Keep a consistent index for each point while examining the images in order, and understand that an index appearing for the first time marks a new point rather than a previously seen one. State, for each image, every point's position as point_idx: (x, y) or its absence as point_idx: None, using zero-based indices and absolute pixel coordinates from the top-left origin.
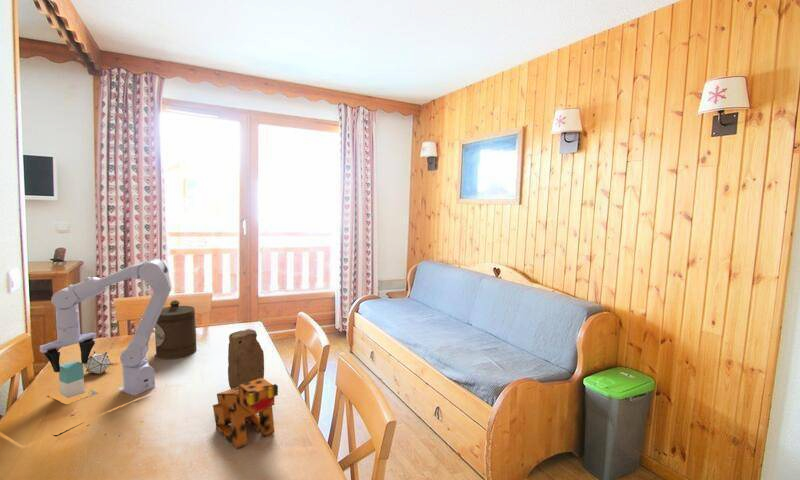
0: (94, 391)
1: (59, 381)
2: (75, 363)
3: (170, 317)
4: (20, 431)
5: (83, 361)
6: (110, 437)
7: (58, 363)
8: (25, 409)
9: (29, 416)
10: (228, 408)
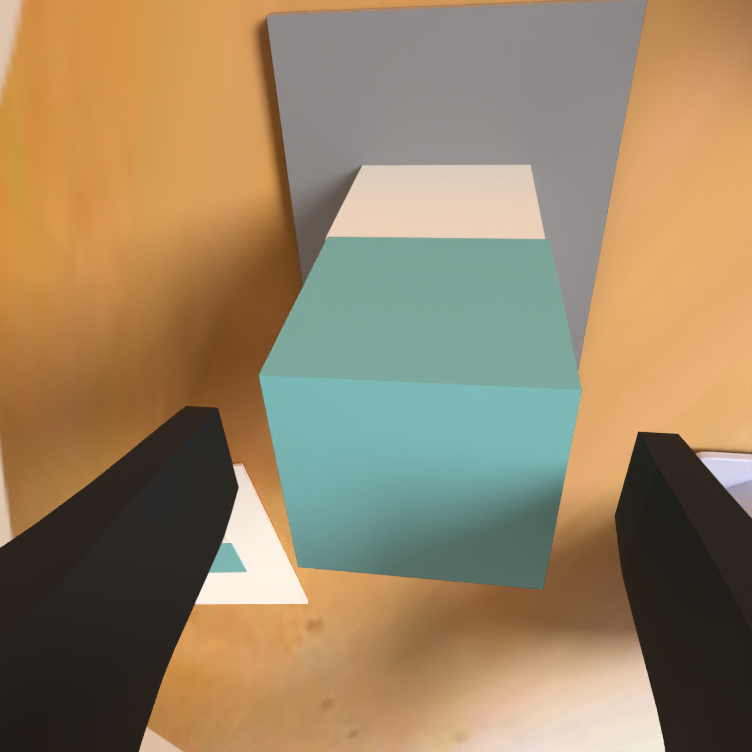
0: (578, 355)
1: (326, 238)
2: (484, 511)
3: None
4: (57, 447)
5: (632, 504)
6: (326, 723)
7: (164, 642)
8: (84, 141)
9: (105, 308)
10: None
